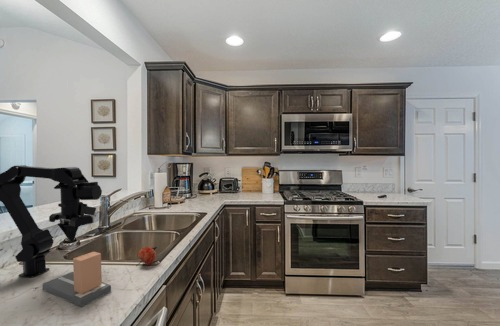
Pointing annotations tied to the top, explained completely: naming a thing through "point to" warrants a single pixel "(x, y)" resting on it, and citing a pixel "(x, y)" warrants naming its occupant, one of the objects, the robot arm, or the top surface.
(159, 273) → the top surface
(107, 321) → the top surface
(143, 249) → the pomegranate
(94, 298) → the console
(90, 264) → the fader knob
